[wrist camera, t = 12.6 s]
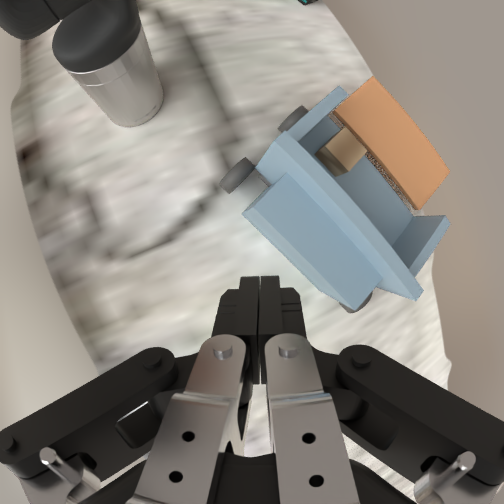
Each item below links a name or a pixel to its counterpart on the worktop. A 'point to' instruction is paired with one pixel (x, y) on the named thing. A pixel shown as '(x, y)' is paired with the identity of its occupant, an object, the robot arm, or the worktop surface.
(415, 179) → the panel
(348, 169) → the block
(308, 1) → the tampon box
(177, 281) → the worktop surface
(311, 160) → the pickup bed
